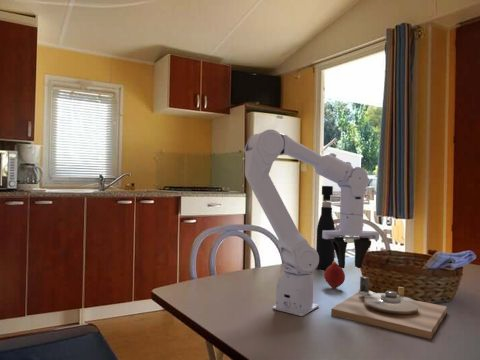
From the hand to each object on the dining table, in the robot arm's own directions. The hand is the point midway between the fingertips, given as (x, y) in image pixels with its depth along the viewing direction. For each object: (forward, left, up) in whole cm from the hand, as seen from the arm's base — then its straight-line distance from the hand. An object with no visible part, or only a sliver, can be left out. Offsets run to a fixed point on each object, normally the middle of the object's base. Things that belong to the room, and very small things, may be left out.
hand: (349, 267), depth 98 cm
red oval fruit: (+12, +9, -10) cm, 18 cm away
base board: (0, -10, -9) cm, 14 cm away
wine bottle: (+35, +22, -10) cm, 42 cm away
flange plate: (+1, -9, -7) cm, 11 cm away
